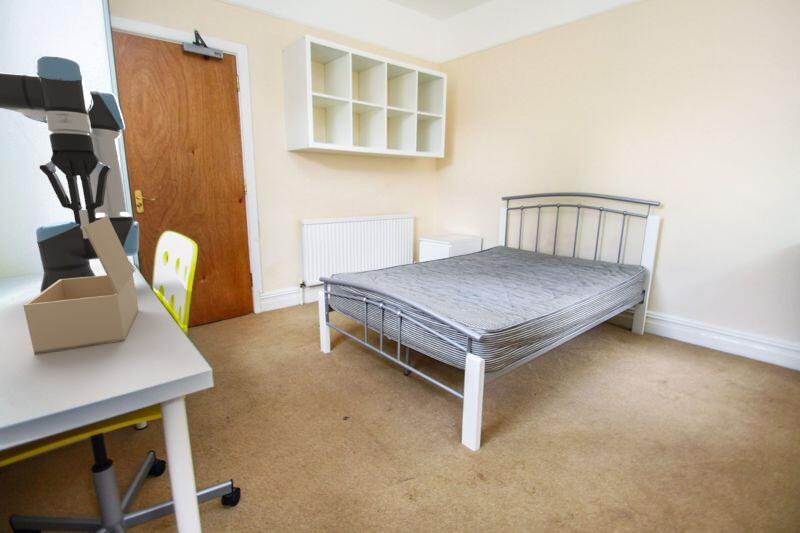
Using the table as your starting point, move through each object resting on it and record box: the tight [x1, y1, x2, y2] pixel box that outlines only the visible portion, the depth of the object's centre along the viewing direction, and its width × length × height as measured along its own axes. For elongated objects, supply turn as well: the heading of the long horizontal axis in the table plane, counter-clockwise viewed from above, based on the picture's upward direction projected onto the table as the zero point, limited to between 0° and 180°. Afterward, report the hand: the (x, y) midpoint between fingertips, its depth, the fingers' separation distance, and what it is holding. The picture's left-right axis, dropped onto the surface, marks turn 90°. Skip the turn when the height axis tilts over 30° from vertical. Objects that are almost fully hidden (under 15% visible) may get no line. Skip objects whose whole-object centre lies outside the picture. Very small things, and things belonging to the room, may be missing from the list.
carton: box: [22, 273, 139, 355], centre depth 96 cm, size 24×16×11 cm, turn 27°
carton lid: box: [83, 217, 135, 294], centre depth 96 cm, size 24×16×1 cm
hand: (88, 237), depth 93 cm, fingers closed
